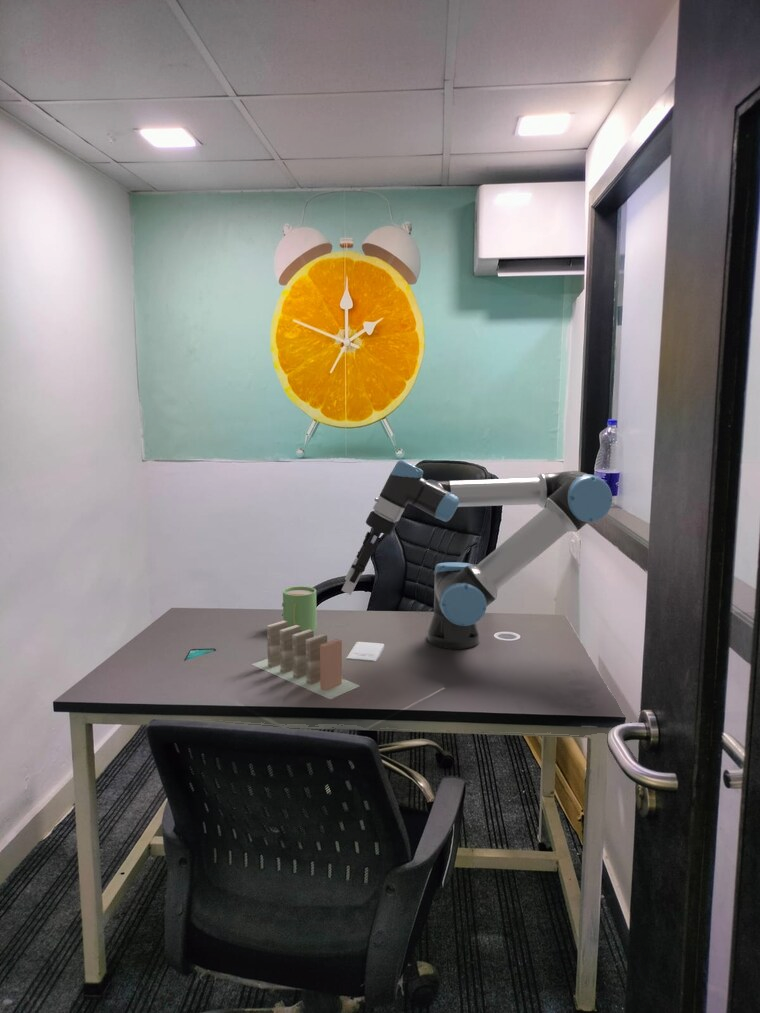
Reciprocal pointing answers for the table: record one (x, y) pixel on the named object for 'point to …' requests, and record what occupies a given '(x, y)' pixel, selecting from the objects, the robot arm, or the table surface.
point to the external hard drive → (366, 651)
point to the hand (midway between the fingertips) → (347, 586)
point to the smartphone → (198, 653)
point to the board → (301, 682)
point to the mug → (300, 607)
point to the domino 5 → (330, 664)
